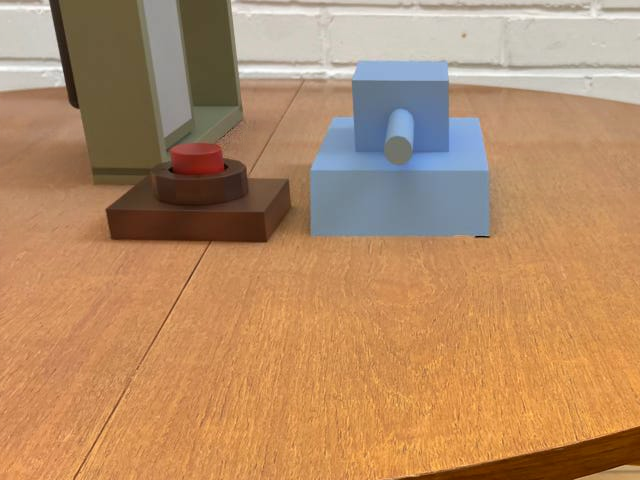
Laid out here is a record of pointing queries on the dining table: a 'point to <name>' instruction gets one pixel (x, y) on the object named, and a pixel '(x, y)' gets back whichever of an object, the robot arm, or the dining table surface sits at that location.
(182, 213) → the button block
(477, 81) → the dining table surface
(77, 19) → the window frame
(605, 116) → the dining table surface
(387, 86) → the toy tank
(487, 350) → the dining table surface
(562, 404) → the dining table surface
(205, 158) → the button
